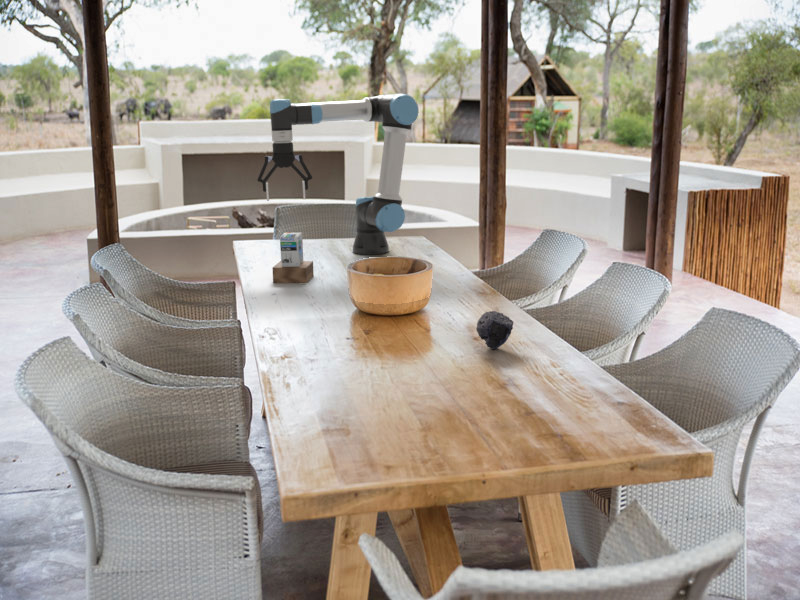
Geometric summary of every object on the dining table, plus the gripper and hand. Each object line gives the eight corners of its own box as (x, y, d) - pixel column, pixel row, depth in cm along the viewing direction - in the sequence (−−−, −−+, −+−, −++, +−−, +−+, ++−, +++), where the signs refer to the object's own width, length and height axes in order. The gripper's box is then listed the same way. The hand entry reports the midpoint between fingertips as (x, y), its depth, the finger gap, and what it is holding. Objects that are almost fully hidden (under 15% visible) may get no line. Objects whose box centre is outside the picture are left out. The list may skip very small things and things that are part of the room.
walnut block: (313, 277, 304) (313, 261, 303) (306, 284, 292) (306, 267, 291) (281, 277, 305) (280, 260, 304) (273, 284, 294) (272, 267, 292)
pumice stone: (483, 355, 210) (483, 317, 207) (470, 347, 217) (471, 310, 214) (520, 351, 213) (521, 313, 211) (506, 343, 220) (507, 306, 218)
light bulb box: (299, 267, 292) (298, 236, 290) (280, 267, 292) (279, 237, 290) (303, 261, 303) (302, 231, 300) (285, 261, 303) (283, 232, 300)
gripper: (248, 144, 302) (252, 202, 308) (316, 141, 306) (320, 199, 311) (248, 142, 310) (252, 199, 315) (316, 140, 313) (319, 196, 318)
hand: (286, 199), depth 313 cm, fingers open, 13 cm apart
